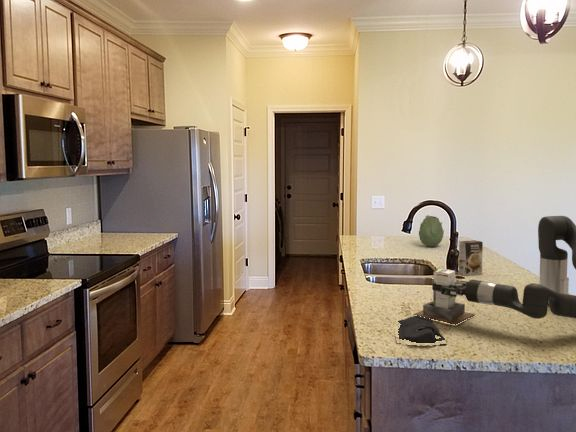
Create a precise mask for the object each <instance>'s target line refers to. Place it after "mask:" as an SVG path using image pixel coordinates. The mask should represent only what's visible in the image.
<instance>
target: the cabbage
mask: <svg viewBox="0 0 576 432" xmlns="http://www.w3.org/2000/svg"><path fill="white" fill-rule="evenodd" d="M444 234H445V231H444V229H443V223H442V221H440V219H439V217H438V216H433V215H425V218H424V219H423V220H422V222H420V226H419V231H418V237H419V240H420V242H421V243H422V244H423V246H424V245H425V246H426V247H429V248H435V247H437V246H439V244H441V242H442V241H443V238H444Z"/></svg>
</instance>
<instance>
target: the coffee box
mask: <svg viewBox="0 0 576 432" xmlns="http://www.w3.org/2000/svg"><path fill="white" fill-rule="evenodd" d="M458 242H459V243H458V244H459V245H458V246H459V248H458V274H459V275H462V276H464V277H471V276H470V275H472V276H479V275H483V241H481V240H473V239H472V240H460V241H458Z"/></svg>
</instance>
